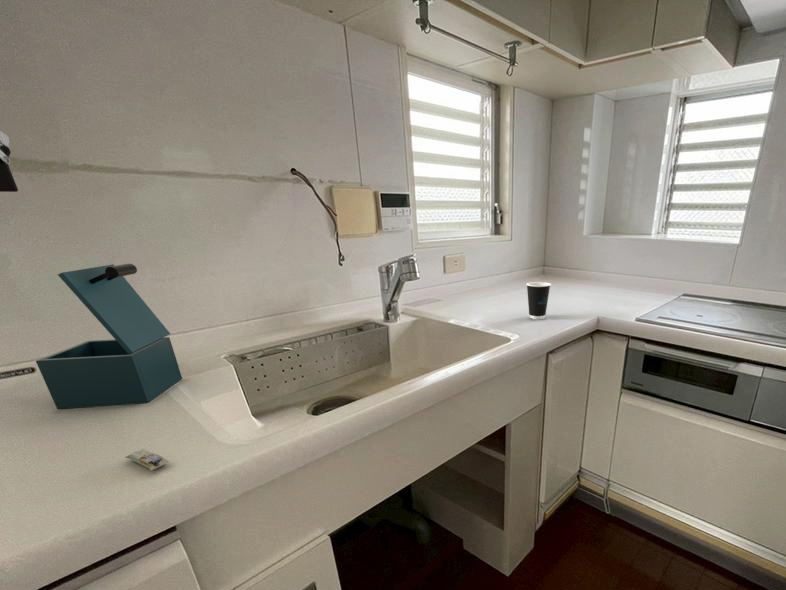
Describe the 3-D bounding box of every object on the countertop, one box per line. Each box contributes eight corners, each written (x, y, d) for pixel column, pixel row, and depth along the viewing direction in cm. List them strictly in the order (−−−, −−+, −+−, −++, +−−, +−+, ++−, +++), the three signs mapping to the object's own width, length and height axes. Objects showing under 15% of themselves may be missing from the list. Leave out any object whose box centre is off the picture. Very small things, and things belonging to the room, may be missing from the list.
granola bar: (125, 460, 54) (122, 453, 54) (145, 452, 56) (142, 445, 56) (152, 473, 51) (149, 466, 51) (172, 464, 53) (170, 457, 53)
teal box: (57, 409, 68) (35, 360, 65) (104, 383, 79) (87, 340, 76) (148, 402, 71) (131, 355, 68) (182, 378, 81) (169, 336, 78)
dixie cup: (529, 313, 137) (530, 281, 133) (552, 315, 134) (553, 282, 130) (522, 318, 130) (522, 284, 126) (545, 321, 127) (547, 286, 123)
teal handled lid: (57, 274, 62) (91, 259, 62) (109, 266, 72) (138, 253, 72) (128, 354, 67) (159, 340, 68) (166, 335, 78) (193, 323, 78)
